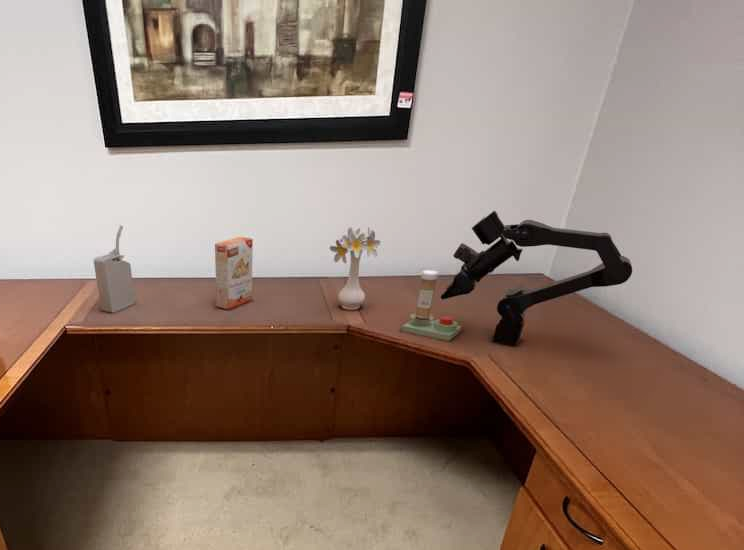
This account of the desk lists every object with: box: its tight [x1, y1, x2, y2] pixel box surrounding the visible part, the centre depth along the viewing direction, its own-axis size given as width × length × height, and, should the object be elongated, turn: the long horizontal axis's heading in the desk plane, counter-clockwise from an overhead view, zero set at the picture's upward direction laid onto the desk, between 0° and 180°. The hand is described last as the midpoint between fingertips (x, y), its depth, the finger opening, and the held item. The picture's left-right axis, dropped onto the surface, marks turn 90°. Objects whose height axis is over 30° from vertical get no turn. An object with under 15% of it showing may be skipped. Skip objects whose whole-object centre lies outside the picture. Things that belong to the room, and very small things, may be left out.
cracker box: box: [214, 236, 254, 310], centre depth 192 cm, size 14×6×21 cm, turn 143°
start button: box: [440, 315, 454, 325], centre depth 169 cm, size 4×4×2 cm
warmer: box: [401, 318, 462, 342], centre depth 172 cm, size 15×10×4 cm, turn 53°
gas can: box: [93, 224, 136, 314], centre depth 190 cm, size 15×5×25 cm, turn 150°
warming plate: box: [409, 312, 434, 322], centre depth 173 cm, size 7×7×1 cm
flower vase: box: [329, 226, 381, 311], centre depth 185 cm, size 13×18×25 cm
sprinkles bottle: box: [414, 269, 439, 319], centre depth 168 cm, size 5×5×13 cm
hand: (444, 294), depth 166 cm, fingers open, 9 cm apart
